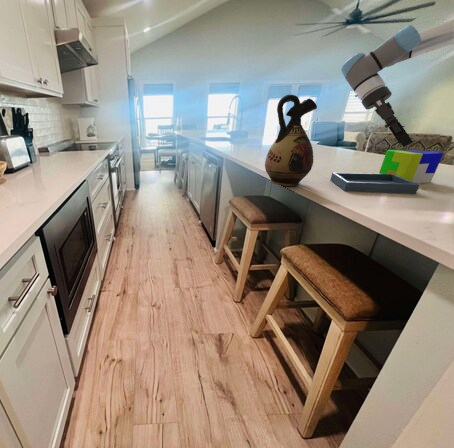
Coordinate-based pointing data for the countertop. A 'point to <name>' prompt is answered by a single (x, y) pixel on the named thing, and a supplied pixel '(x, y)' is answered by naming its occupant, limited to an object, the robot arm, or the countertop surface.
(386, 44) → the robot arm
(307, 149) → the ceramic jug
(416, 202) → the countertop surface
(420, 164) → the puzzle toy
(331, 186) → the countertop surface
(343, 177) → the storage tray
